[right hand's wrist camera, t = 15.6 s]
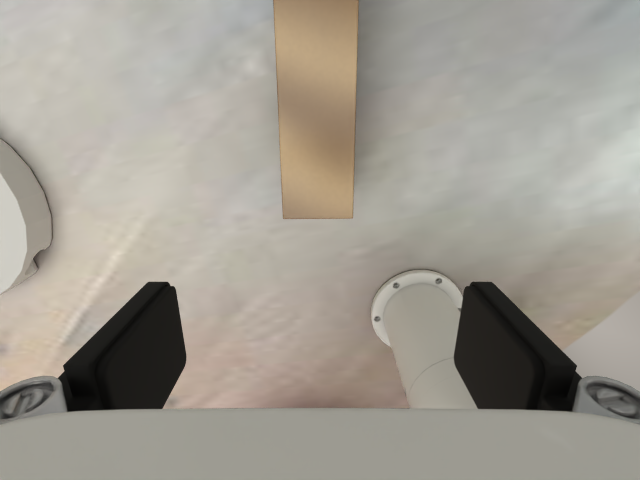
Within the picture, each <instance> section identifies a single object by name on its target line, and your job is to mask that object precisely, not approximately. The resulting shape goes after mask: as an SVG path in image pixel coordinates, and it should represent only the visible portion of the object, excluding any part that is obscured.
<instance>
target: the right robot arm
mask: <svg viewBox="0 0 640 480" xmlns="http://www.w3.org/2000/svg"><path fill="white" fill-rule="evenodd" d="M436 279H437V280H436ZM394 283H396V284H394ZM376 316H377V317H376ZM371 321H372V325H373V328H374V330H375V332H376V334H377V336H378V337H379V338H380V339H381V341H383V342H384V343H385V344H386V345H387V346H389V347H391V348H392V352H393V355H394V358H395V362H396V365H397V368H398V372H399V375H400V378H401V382H402V385H403V388H404V391H405V395H406V398H407V401H408V404H409V408H218V409H162V408H163V406H164V404H165V403H166V401H167V399H168V397H169V395H170V393H171V391H172V389H173V388H174V386H175V384H176V382H177V380H178V378H179V376H180V374H181V373H182V371H183V369H184V367H185V364H186V351H185V344H184V338H183V332H182V326H181V319H180V313H179V307H178V300H177V294H176V289H175V287H174V286H170V284H169V283H168V282H148V283H147V284H146V285H145V286H144V287H143V288H142V289H140V290H139V291H138V292H137V293H136V294H135V295H134V296H133V297H132V298H131V299H130V300H129V301H128V302H127V303H126V304H125V305H124V306H123V307H122V308H121V309H120V310H119V311H118V312H117V313H116V314H115V315H114V316H113V317H112V318H111V319H110V320H109V321H108V322H107V323H106V324H105V325H104V326H103V327H102V328H101V329H100V330H99V331H98V332H97V333H96V334H95V335H94V336H93V337H92V338H91V339H90V340H89V341H88V342H87V343H86V344H85V345H84V346H83V347H82V348H81V349H80V350H79V351H78V352H77V353H76V354H74V355H73V356H72V357H71V358H70V359H69V360H68V361H67V362H66V363H65V364H64V365H63V367H64V370H65V371H64V372H63V373H62V374H61V375H60V376H59V378H55V377H53V376H40V377H33V378H30V379H26V380H23V381H20V382H18V383H16V384H13V385H11V386H9V387H7V388H6V389H4V390H2V391H0V480H640V391H638V390H636V389H634V388H633V387H631V386H629V385H627V384H624V383H622V382H620V381H617V380H614V379H610V378H607V377H600V376H587V377H585V378H581V376H579V374H577V372H576V371H575V370H576V367H577V365H576V364H575V363H574V362H573V361H572V360H571V359H570V358H568V356H566V354H564V353H563V352H562V351H561V350H560V349H559V348H558V347H557V346H556V345H555V344H554V343H553V342H552V341H551V340H550V339H549V338H548V337H547V336H546V335H545V334H544V333H543V332H542V331H541V330H540V329H539V328H538V327H537V326H536V325H535V324H534V323H533V322H532V321H531V320H530V319H529V318H528V317H527V316H526V315H525V314H524V313H523V312H522V311H521V310H520V309H519V308H518V307H517V306H516V305H515V304H514V303H513V302H512V301H511V300H510V299H509V298H508V297H507V296H506V295H505V294H504V293H503V292H502V291H501V290H500V289H498V288H497V287H496V286H495V285H494V284H493V283H492V282H472V283H471V284H470V286H466V287H465V289H464V294H463V296H462V294H461V292H460V291H459V289H458V288H457V286H456V285H455V284H454V283H453V282H452V281H451V280H450V279H449V278H447V277H446V276H444V275H442V274H440V273H437V272H434V271H429V270H412V271H407V272H404V273H401V274H399V275H397V276H395V277H393V278H391V279H390V280H389V281H387V282H386V283H385V284H384V285H383V286H382V287H381V288H380V289H379V291H378V292H377V294H376V295H375V297H374V299H373V302H372V306H371Z"/></svg>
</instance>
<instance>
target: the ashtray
mask: <svg viewBox="0 0 640 480" xmlns="http://www.w3.org/2000/svg"><path fill="white" fill-rule="evenodd" d="M51 240H52V225H51V214H50V211H49V207H48V204H47V201H46V198H45V194H44V192H43V190H42V188H41V186H40V185H39V183H38V181H37V180H36V178H35V176H34V174H33V173H32V171H31V169H30V168H29V167H28V166H27V164H26V163H25V162H24V161H23V160H22V159H21V158H20V157H19V155H18V154H17V153H16V152H15V151H14V150H13V149H12V148H11V147H10V146H9V145H8V144H7V143H5V142H4V141H3V140H1V139H0V295H1V294H2V293H4V292H6V291H8V290H9V289H11V288H13V287H15V286H16V285H18V284H20V283H21V282H23V281H24V280H26V279H27V278H29V277H30V276H32V275H33V274H35V273H36V271H37V270H38V268H37V266H36V264H35V262H34V260H33V258H34V256H35V255H36V254H37V253H38V252H39V251H40V250H43V249H44V250H45V249H46V248H47V247H49V246H50V243H51Z"/></svg>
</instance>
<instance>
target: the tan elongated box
mask: <svg viewBox="0 0 640 480" xmlns="http://www.w3.org/2000/svg"><path fill="white" fill-rule="evenodd" d="M273 3H274V25H275V48H276V71H277V93H278V116H279V138H280V161H281V183H282V206H283V219H348V218H353V193H354V156H355V119H356V82H357V44H358V7H359V0H273Z"/></svg>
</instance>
